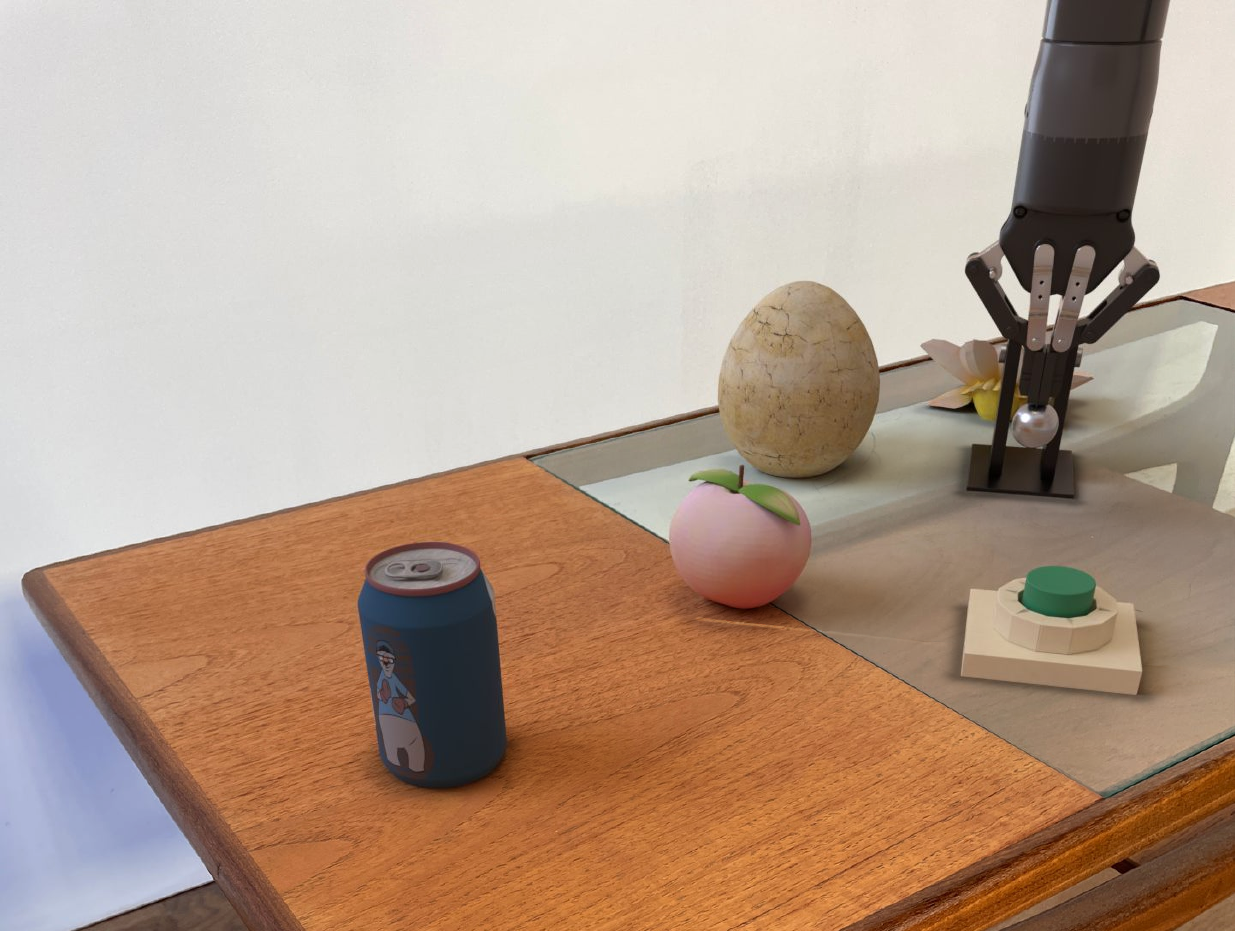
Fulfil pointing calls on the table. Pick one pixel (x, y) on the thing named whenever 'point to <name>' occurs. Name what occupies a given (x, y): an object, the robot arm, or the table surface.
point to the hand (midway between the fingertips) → (1037, 401)
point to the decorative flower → (979, 376)
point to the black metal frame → (1022, 465)
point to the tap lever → (1035, 422)
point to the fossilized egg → (799, 382)
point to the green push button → (1059, 592)
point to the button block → (1051, 643)
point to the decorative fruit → (739, 539)
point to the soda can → (433, 664)
